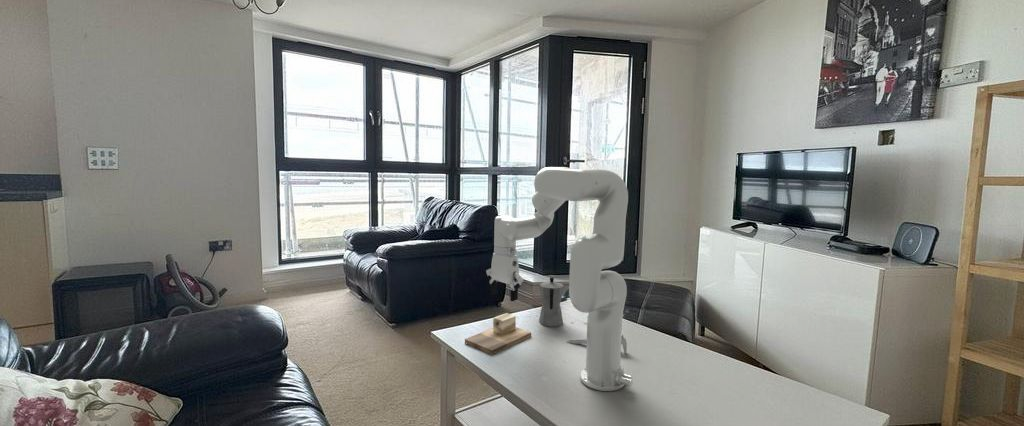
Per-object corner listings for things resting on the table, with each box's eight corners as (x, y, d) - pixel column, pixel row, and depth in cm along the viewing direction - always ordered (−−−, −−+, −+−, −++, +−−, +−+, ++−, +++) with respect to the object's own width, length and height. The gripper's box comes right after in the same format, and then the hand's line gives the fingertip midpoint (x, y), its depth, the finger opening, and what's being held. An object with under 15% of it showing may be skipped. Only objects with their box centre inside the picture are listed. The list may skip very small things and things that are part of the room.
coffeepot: (539, 316, 171) (540, 272, 169) (562, 316, 170) (563, 273, 168) (538, 330, 156) (538, 283, 154) (563, 331, 155) (564, 284, 153)
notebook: (531, 336, 150) (531, 332, 150) (491, 354, 135) (491, 350, 135) (504, 327, 159) (504, 323, 159) (464, 343, 144) (464, 338, 144)
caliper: (626, 353, 138) (627, 334, 137) (625, 354, 137) (626, 336, 136) (566, 341, 147) (567, 324, 146) (566, 342, 146) (566, 325, 145)
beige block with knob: (517, 328, 154) (517, 315, 153) (500, 335, 147) (500, 321, 147) (508, 325, 157) (508, 312, 156) (491, 332, 150) (491, 318, 150)
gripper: (530, 252, 146) (529, 300, 148) (494, 245, 157) (494, 289, 159) (515, 256, 140) (514, 305, 142) (480, 248, 152) (479, 294, 154)
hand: (503, 297), depth 151 cm, fingers open, 9 cm apart
